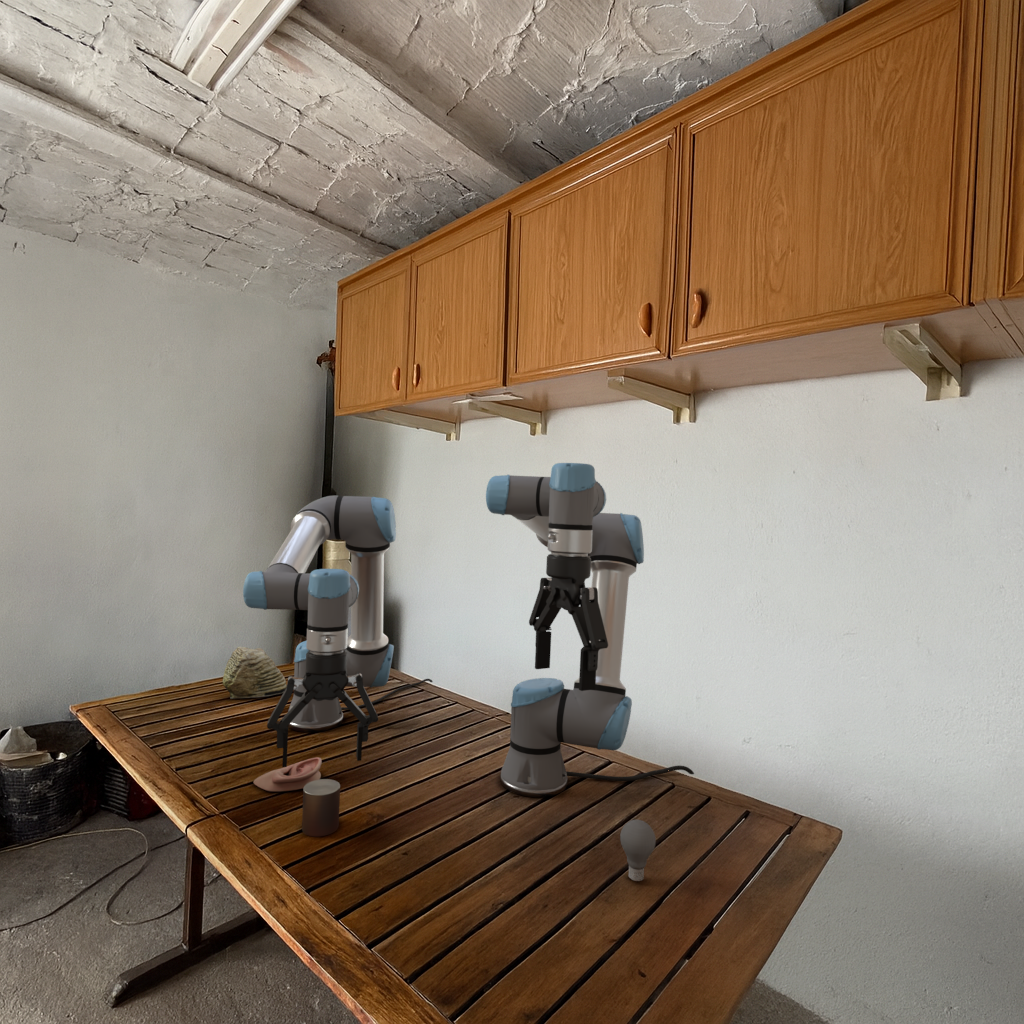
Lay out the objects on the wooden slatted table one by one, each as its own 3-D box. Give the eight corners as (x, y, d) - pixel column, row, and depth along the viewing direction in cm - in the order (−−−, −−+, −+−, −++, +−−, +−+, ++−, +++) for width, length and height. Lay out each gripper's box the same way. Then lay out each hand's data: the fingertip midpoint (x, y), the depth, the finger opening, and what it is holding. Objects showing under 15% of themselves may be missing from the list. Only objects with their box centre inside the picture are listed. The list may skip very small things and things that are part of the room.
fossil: (218, 695, 195) (220, 647, 195) (278, 685, 208) (279, 640, 207) (228, 703, 189) (230, 653, 188) (289, 692, 201) (290, 645, 201)
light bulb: (614, 869, 112) (617, 812, 111) (647, 868, 112) (650, 813, 112) (623, 890, 106) (626, 830, 105) (658, 889, 106) (661, 830, 106)
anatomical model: (245, 769, 136) (276, 749, 147) (245, 787, 136) (275, 766, 147) (302, 777, 133) (328, 756, 144) (301, 796, 133) (328, 773, 144)
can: (319, 815, 126) (320, 776, 126) (345, 824, 123) (347, 783, 123) (294, 830, 120) (295, 789, 120) (321, 840, 117) (323, 798, 117)
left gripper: (255, 657, 113) (250, 775, 114) (395, 653, 121) (390, 763, 122) (257, 648, 121) (253, 758, 121) (390, 644, 128) (385, 748, 129)
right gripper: (513, 547, 117) (508, 662, 117) (595, 562, 95) (589, 702, 95) (548, 547, 120) (543, 658, 121) (634, 561, 99) (628, 697, 99)
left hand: (322, 761), depth 121 cm, fingers open, 13 cm apart
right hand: (563, 678), depth 108 cm, fingers open, 13 cm apart
